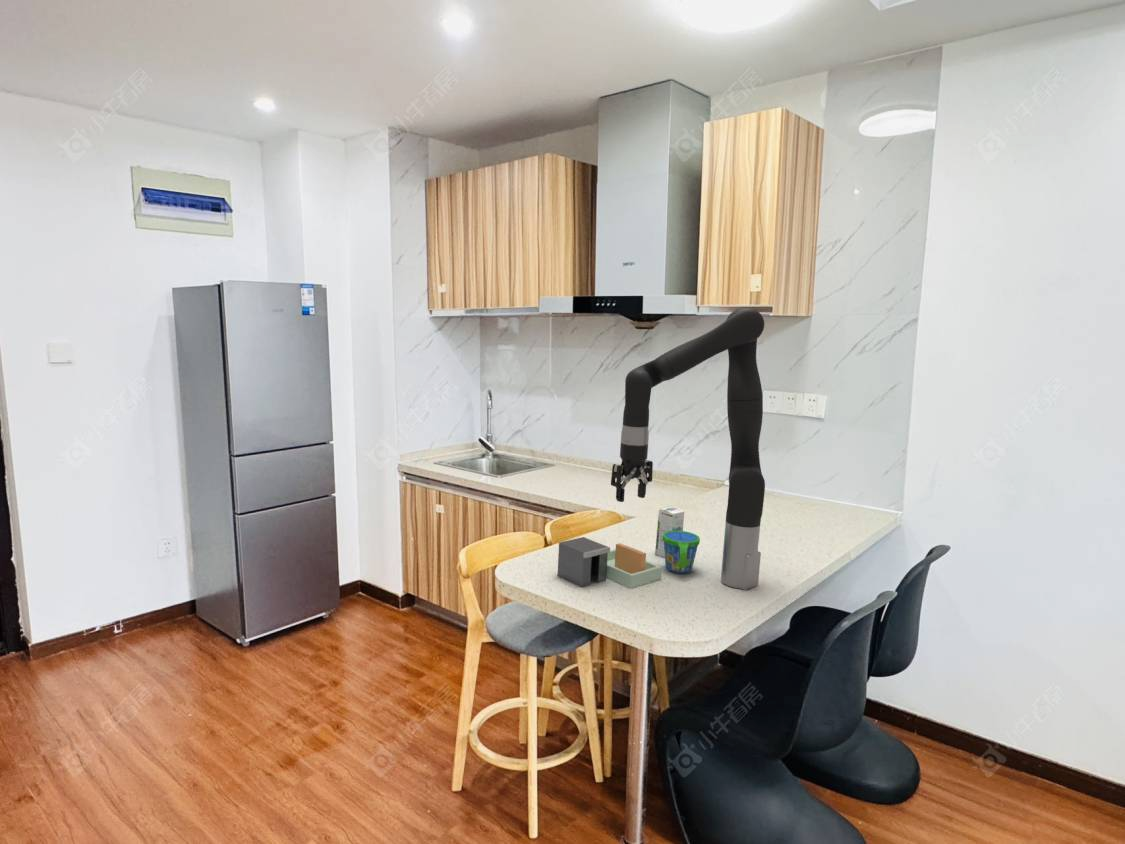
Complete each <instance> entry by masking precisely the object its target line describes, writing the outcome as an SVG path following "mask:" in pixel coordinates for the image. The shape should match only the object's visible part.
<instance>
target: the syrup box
mask: <svg viewBox="0 0 1125 844" xmlns="http://www.w3.org/2000/svg"><path fill="white" fill-rule="evenodd" d="M684 523H685V511H684V510H682V509H680V508H677V507H674V506H673V507H672V506H668V507H665V508H661V509H658V515H657V528H656V539H655V552H654V554H655V555H656V556H659V557H662V558H665V551H664V541H663V534H664V533H665V532H667V531H684Z"/></svg>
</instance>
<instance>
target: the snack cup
mask: <svg viewBox="0 0 1125 844" xmlns="http://www.w3.org/2000/svg"><path fill="white" fill-rule="evenodd" d="M700 540H701V538H700V536H699V535H697V534H695V533H693V532H690V531H685V530H683V531H667V532H665V533H664V534H663V541H664V551H665V557H664V561H665V563H664V564H665V568H666V569H667V570H668V571H669V572H672V573H675V574H688V573H691V572H692V570H693V567H694V563H695V559H696V555H697V551H698V546H699V545H700V542H701V541H700Z"/></svg>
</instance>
